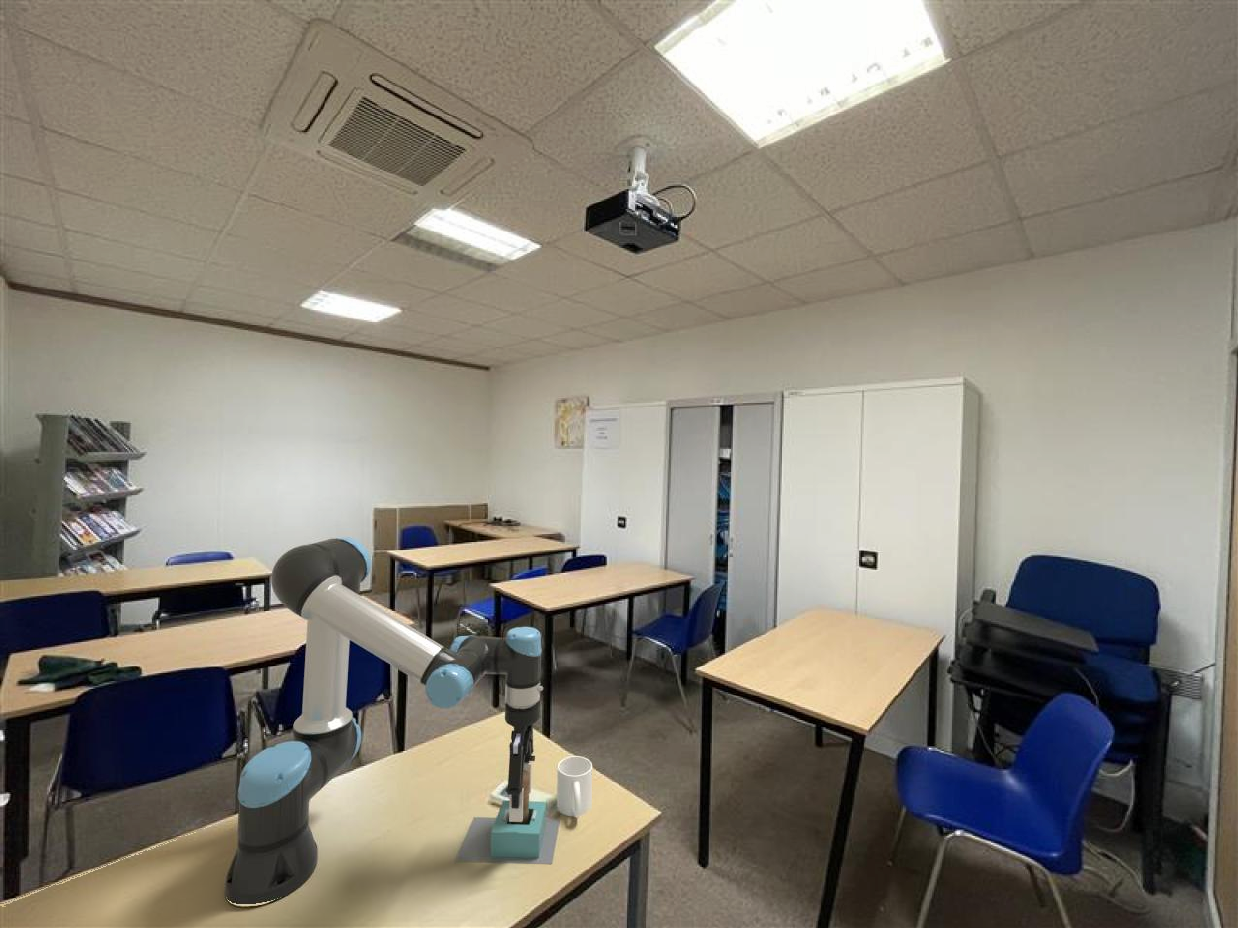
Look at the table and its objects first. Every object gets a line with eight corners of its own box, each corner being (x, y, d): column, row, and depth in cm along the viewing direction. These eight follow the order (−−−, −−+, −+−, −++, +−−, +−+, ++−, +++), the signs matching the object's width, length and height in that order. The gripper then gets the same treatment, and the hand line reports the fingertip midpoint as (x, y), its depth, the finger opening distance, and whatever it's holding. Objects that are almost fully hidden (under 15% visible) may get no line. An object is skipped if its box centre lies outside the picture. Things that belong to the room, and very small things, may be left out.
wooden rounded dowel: (509, 845, 107) (511, 779, 107) (513, 832, 111) (514, 769, 111) (526, 845, 107) (527, 779, 107) (529, 833, 111) (531, 769, 111)
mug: (594, 830, 114) (595, 784, 114) (558, 833, 112) (559, 787, 112) (589, 795, 126) (590, 754, 126) (556, 798, 124) (556, 756, 124)
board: (454, 865, 103) (454, 861, 103) (473, 821, 116) (473, 816, 116) (552, 868, 102) (552, 863, 102) (560, 823, 115) (560, 819, 115)
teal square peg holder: (490, 856, 104) (491, 829, 104) (502, 822, 114) (502, 798, 114) (538, 857, 104) (539, 831, 104) (546, 823, 114) (546, 799, 114)
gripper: (530, 726, 99) (528, 842, 98) (547, 680, 120) (545, 775, 120) (492, 725, 99) (490, 841, 99) (516, 680, 120) (514, 775, 120)
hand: (520, 805), depth 109 cm, fingers open, 8 cm apart
